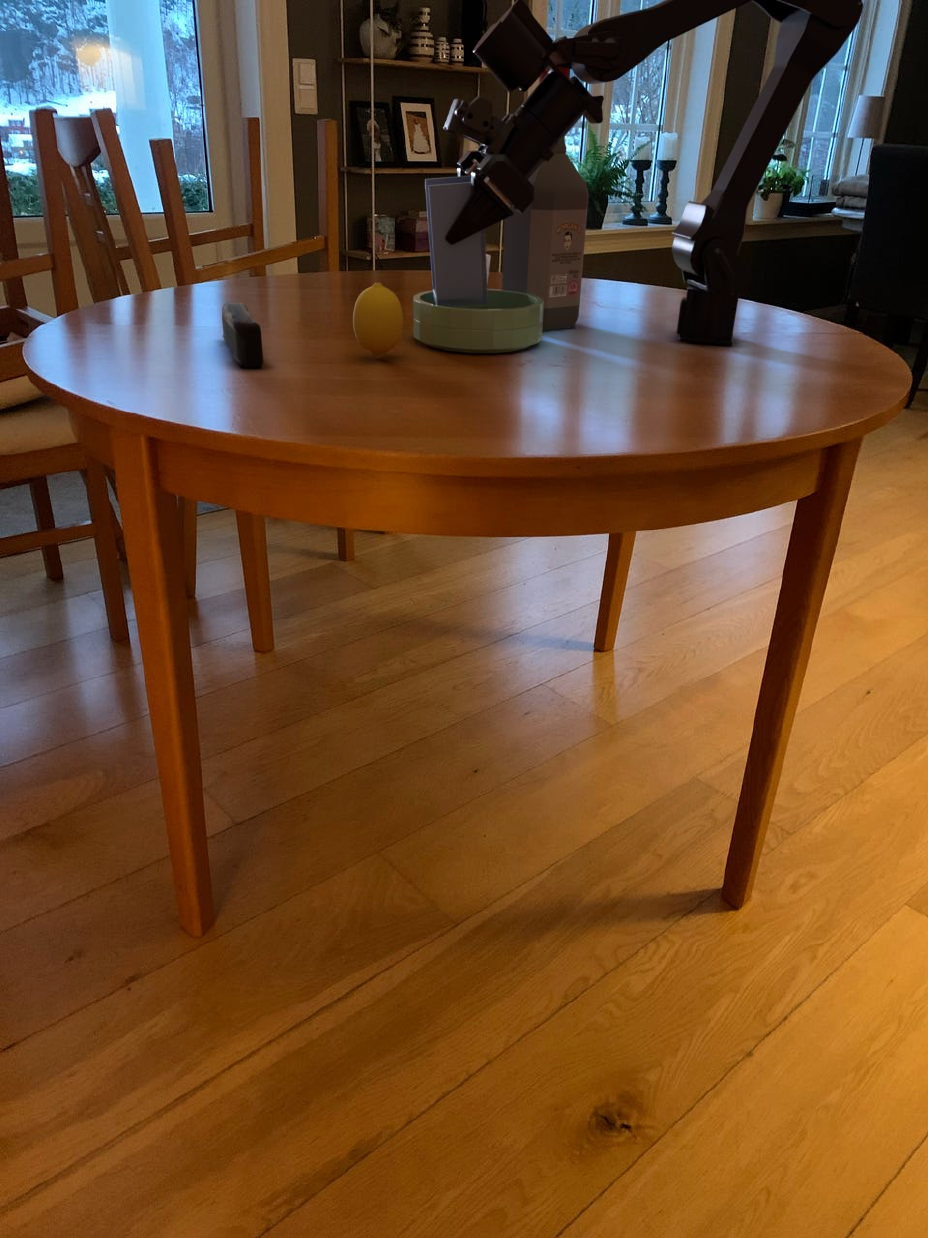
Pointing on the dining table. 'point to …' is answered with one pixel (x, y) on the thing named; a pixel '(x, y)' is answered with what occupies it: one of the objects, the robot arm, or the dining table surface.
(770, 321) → the dining table surface
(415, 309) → the bowl
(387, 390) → the dining table surface
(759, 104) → the robot arm
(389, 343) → the lemon
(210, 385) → the dining table surface
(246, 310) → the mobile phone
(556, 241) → the liquor
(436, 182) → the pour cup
